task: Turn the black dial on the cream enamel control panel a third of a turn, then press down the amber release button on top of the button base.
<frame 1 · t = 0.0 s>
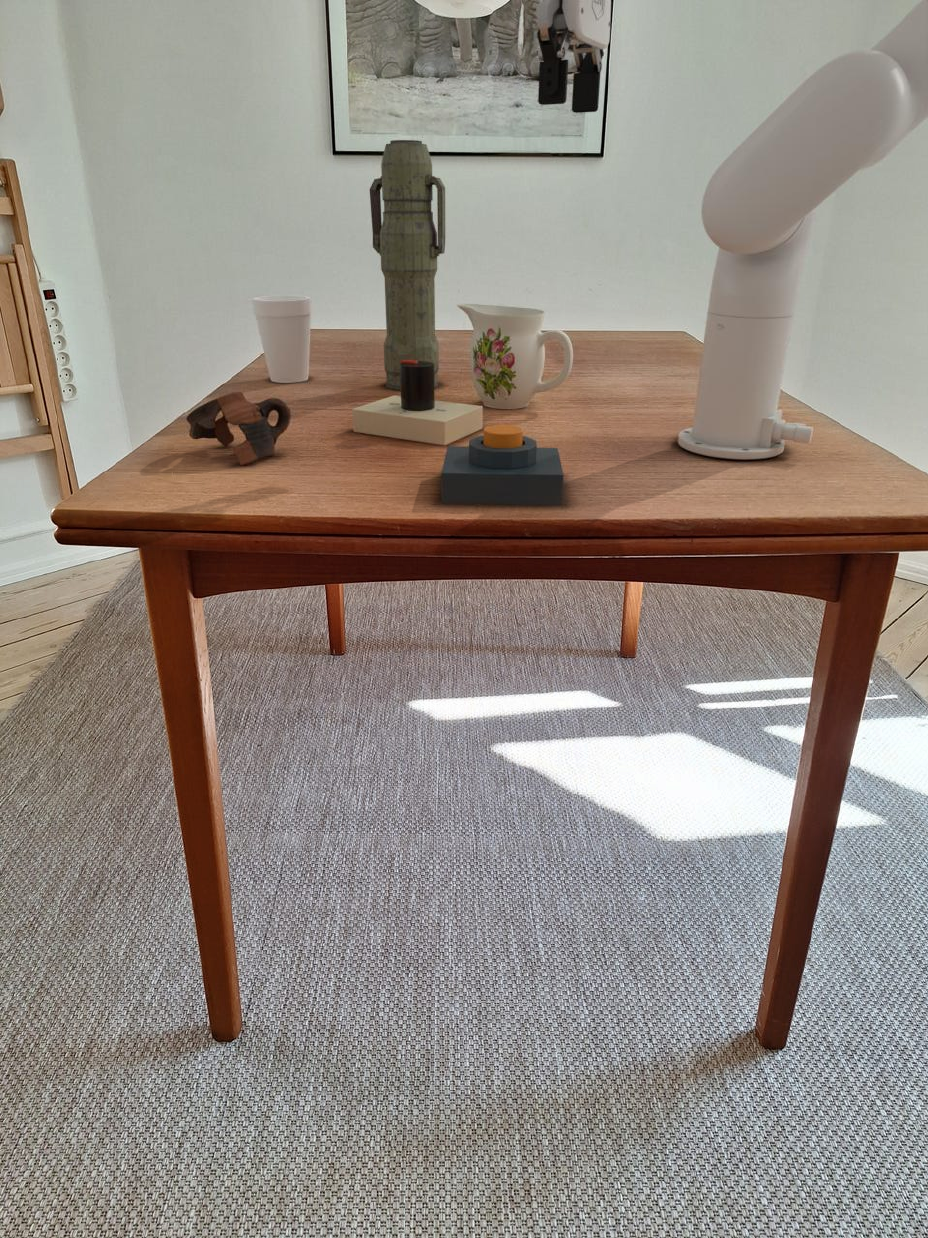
hand: (569, 107, 94), 37 cm above the table, tool pointing down, fingers open, 9 cm apart
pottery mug: (245, 455, 97), on the table
dial panel: (418, 430, 108), on the table
release button: (502, 437, 83), point 5 cm above the table, slide at 0.1 cm
button base: (501, 489, 85), on the table
foam cup: (289, 380, 139), on the table
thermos: (411, 386, 135), on the table
pitcher: (511, 406, 122), on the table
dial: (417, 384, 105), point 6 cm above the table, hinge at 0.0°
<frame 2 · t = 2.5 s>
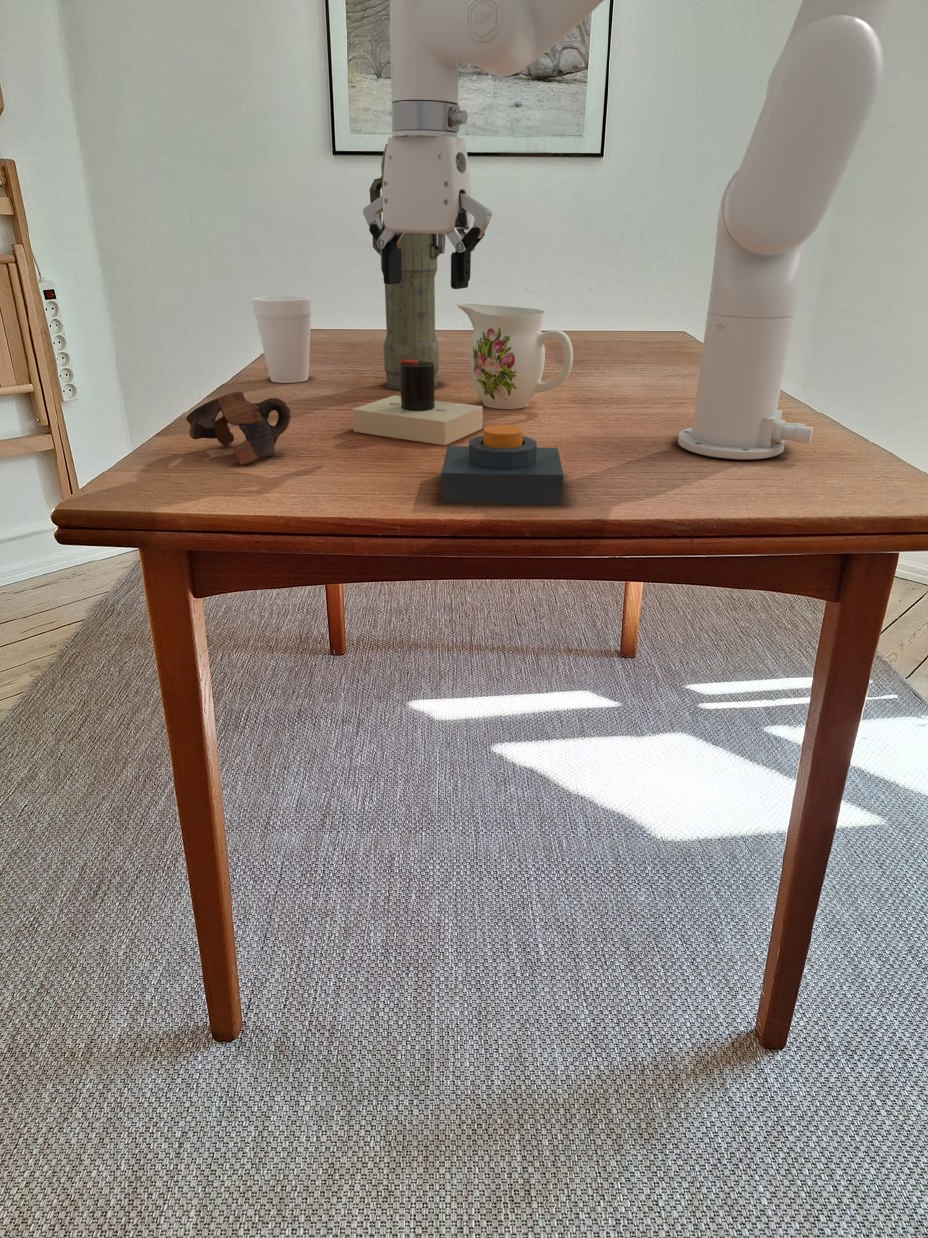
hand: (425, 285, 100), 18 cm above the table, tool pointing down, fingers open, 9 cm apart
nothing on the table moved.
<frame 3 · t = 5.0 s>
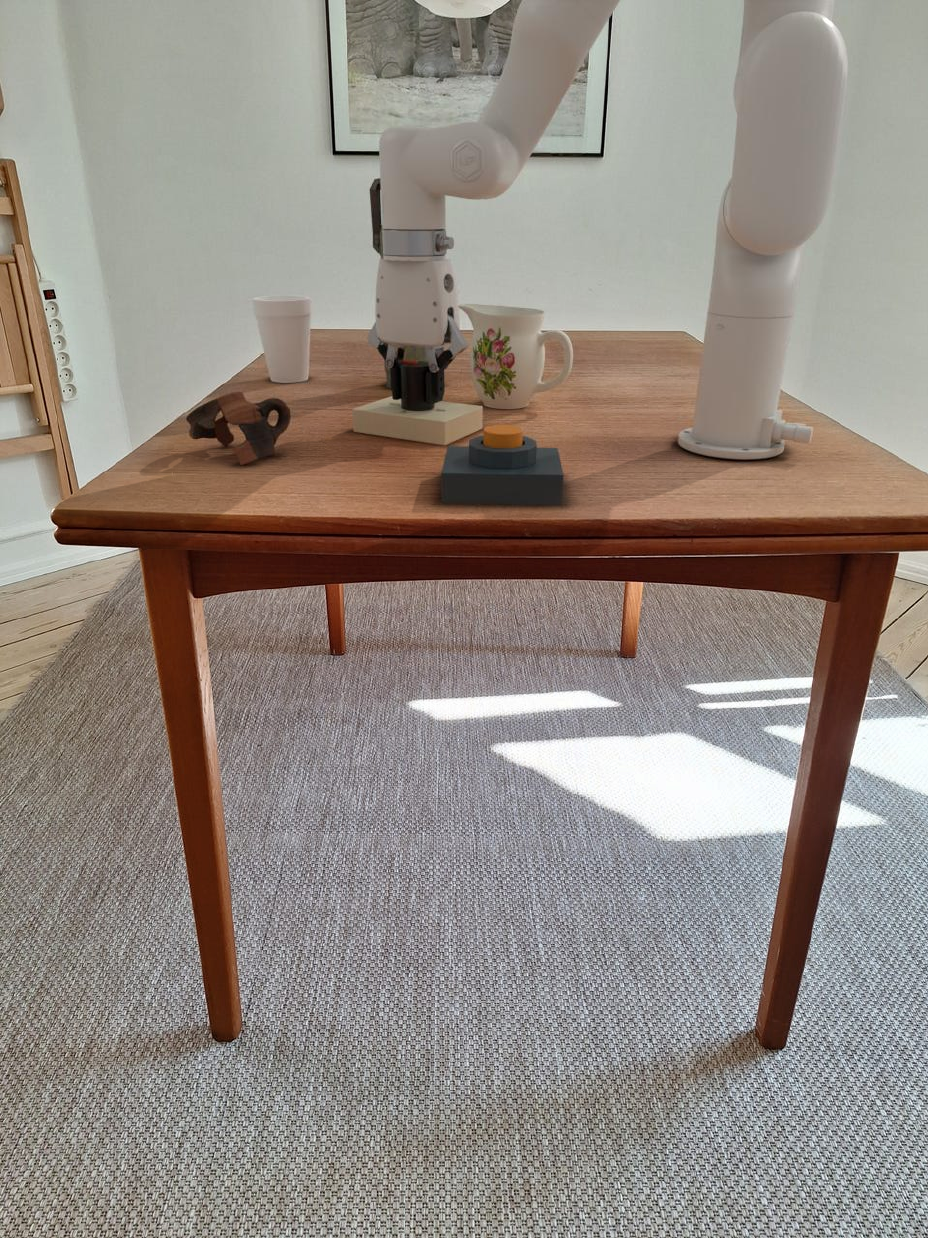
hand: (417, 398, 106), 4 cm above the table, tool pointing down, fingers closed on dial, 4 cm apart
dial: (417, 384, 105), point 6 cm above the table, hinge at -0.2°, touching gripper
everything else where it was.
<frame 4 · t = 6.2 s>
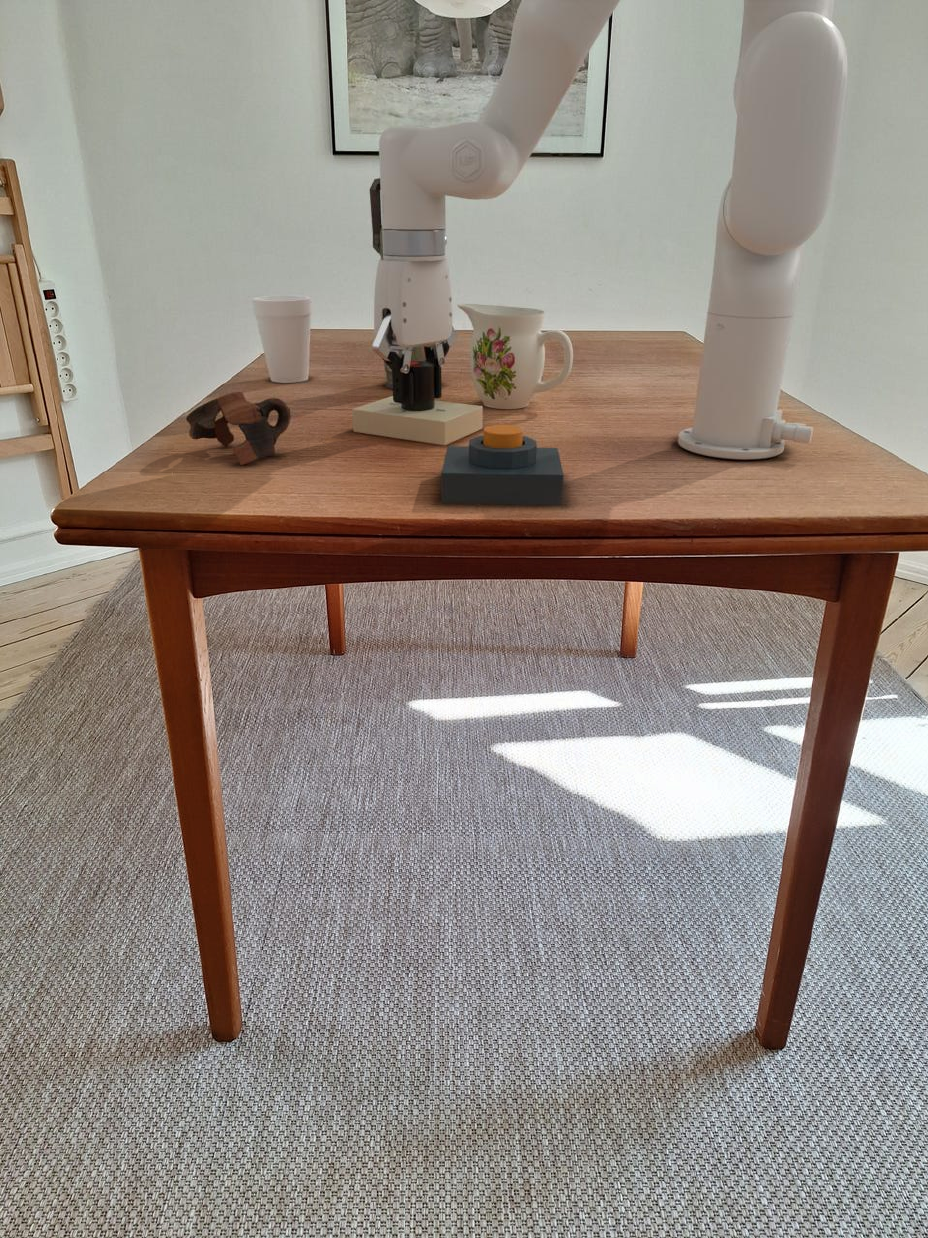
hand: (417, 398, 106), 4 cm above the table, tool pointing down, fingers closed on dial, 4 cm apart
dial: (417, 384, 105), point 6 cm above the table, hinge at 78.6°, touching gripper
everything else where it was.
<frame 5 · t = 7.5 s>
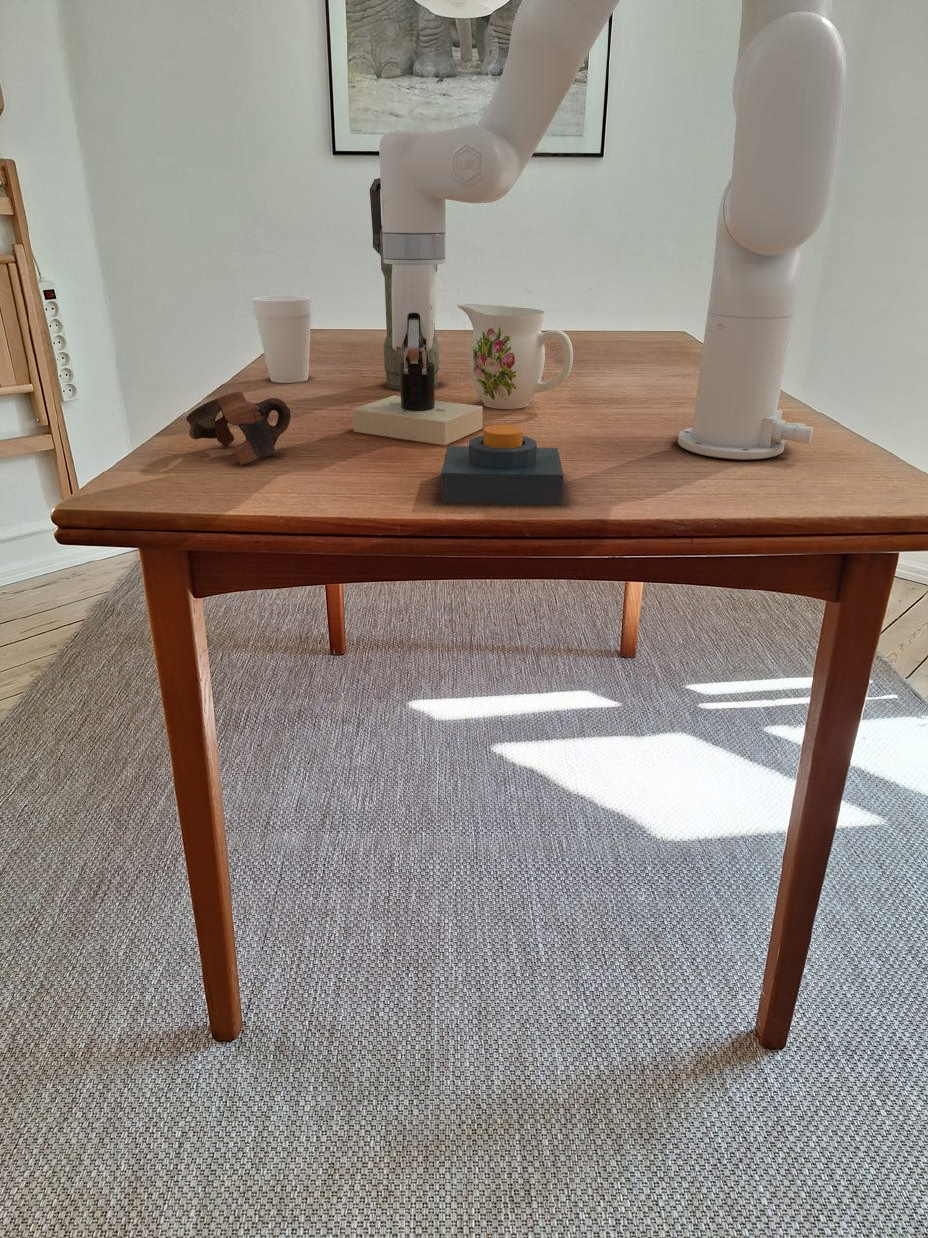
hand: (417, 398, 106), 4 cm above the table, tool pointing down, fingers open, 6 cm apart
dial: (417, 384, 105), point 6 cm above the table, hinge at 119.0°
everything else where it was.
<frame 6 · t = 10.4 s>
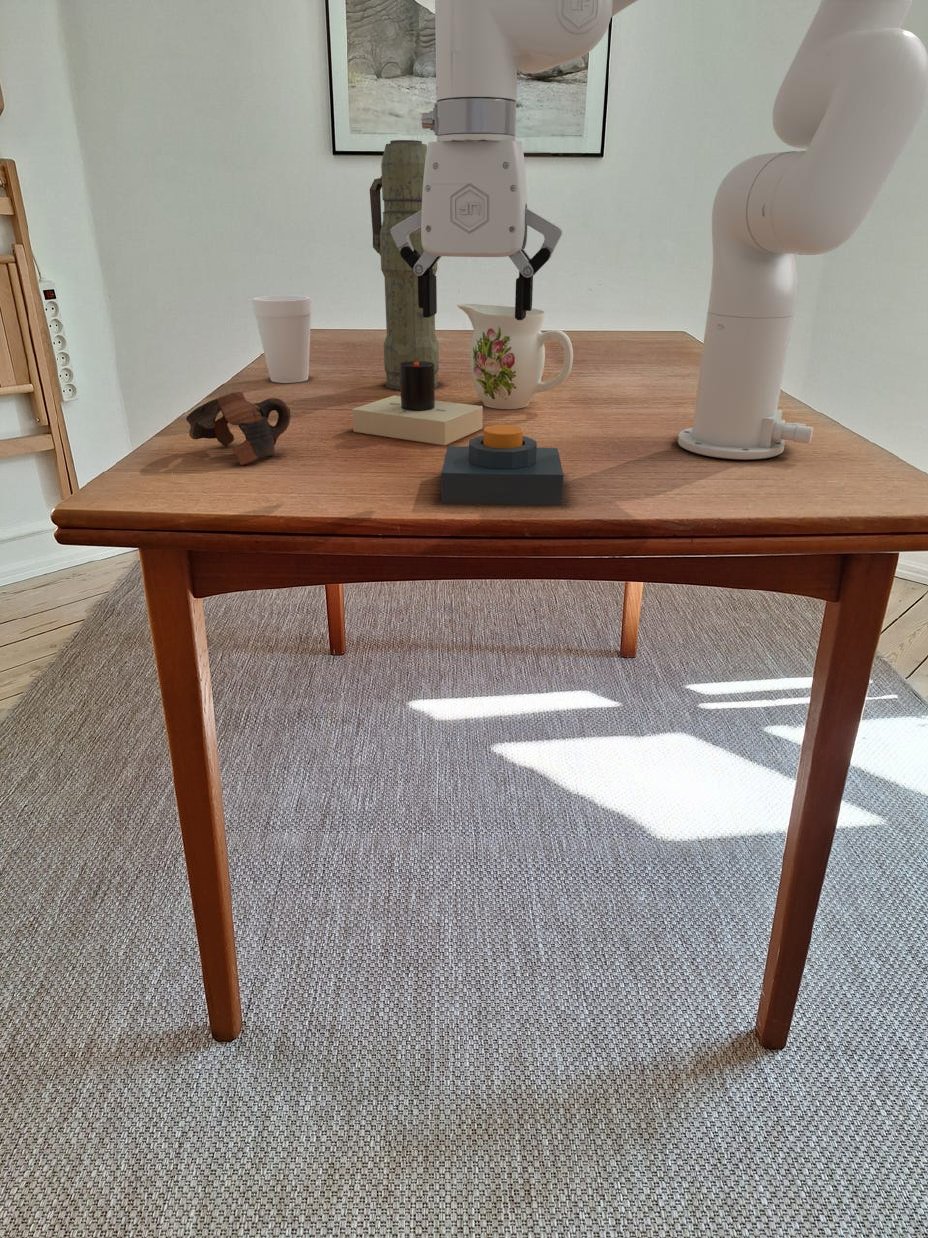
hand: (474, 317, 84), 16 cm above the table, tool pointing down, fingers open, 9 cm apart
nothing on the table moved.
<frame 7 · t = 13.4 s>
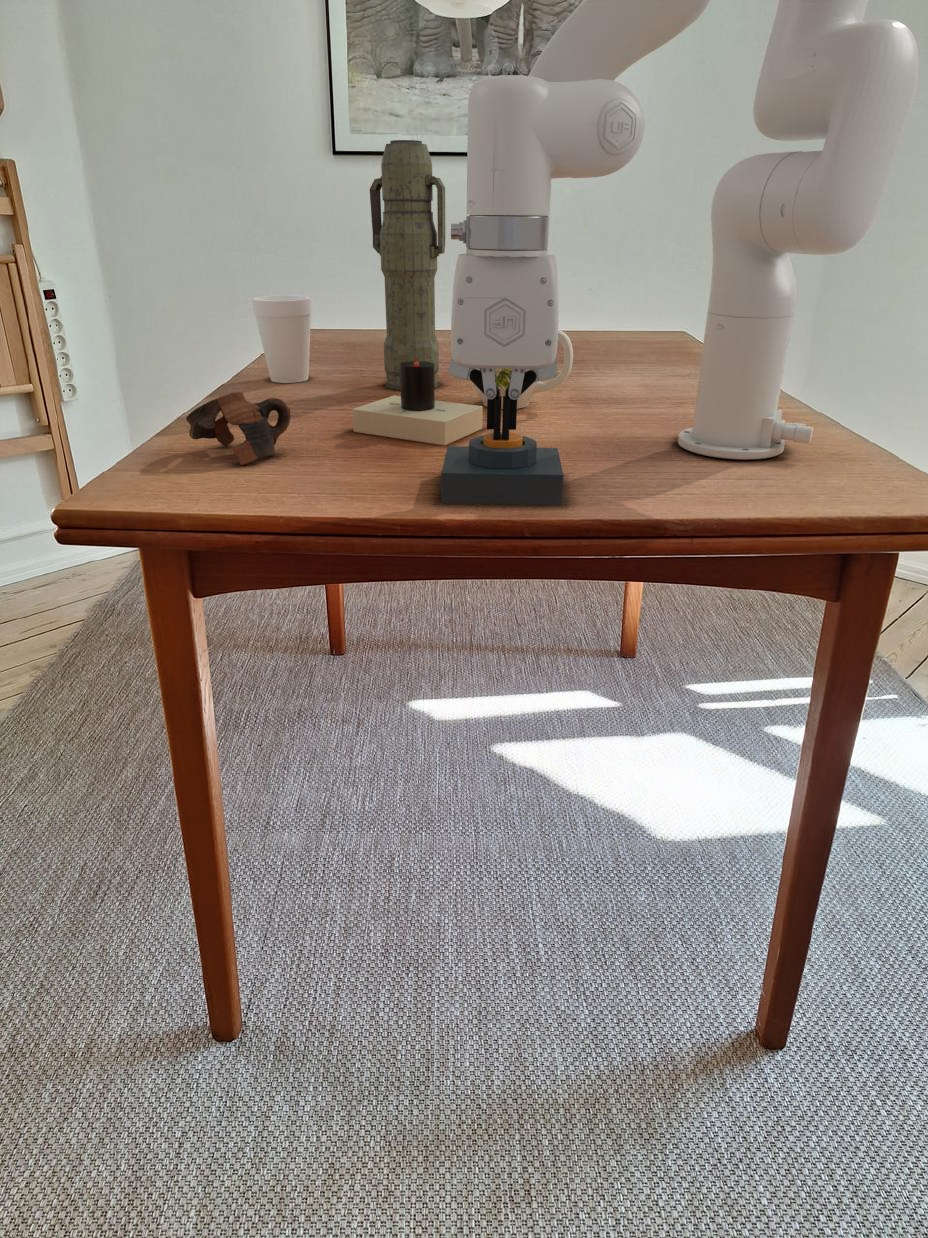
hand: (501, 436, 83), 6 cm above the table, tool pointing down, fingers closed
release button: (502, 444, 83), point 5 cm above the table, slide at -0.6 cm, touching gripper
everything else where it was.
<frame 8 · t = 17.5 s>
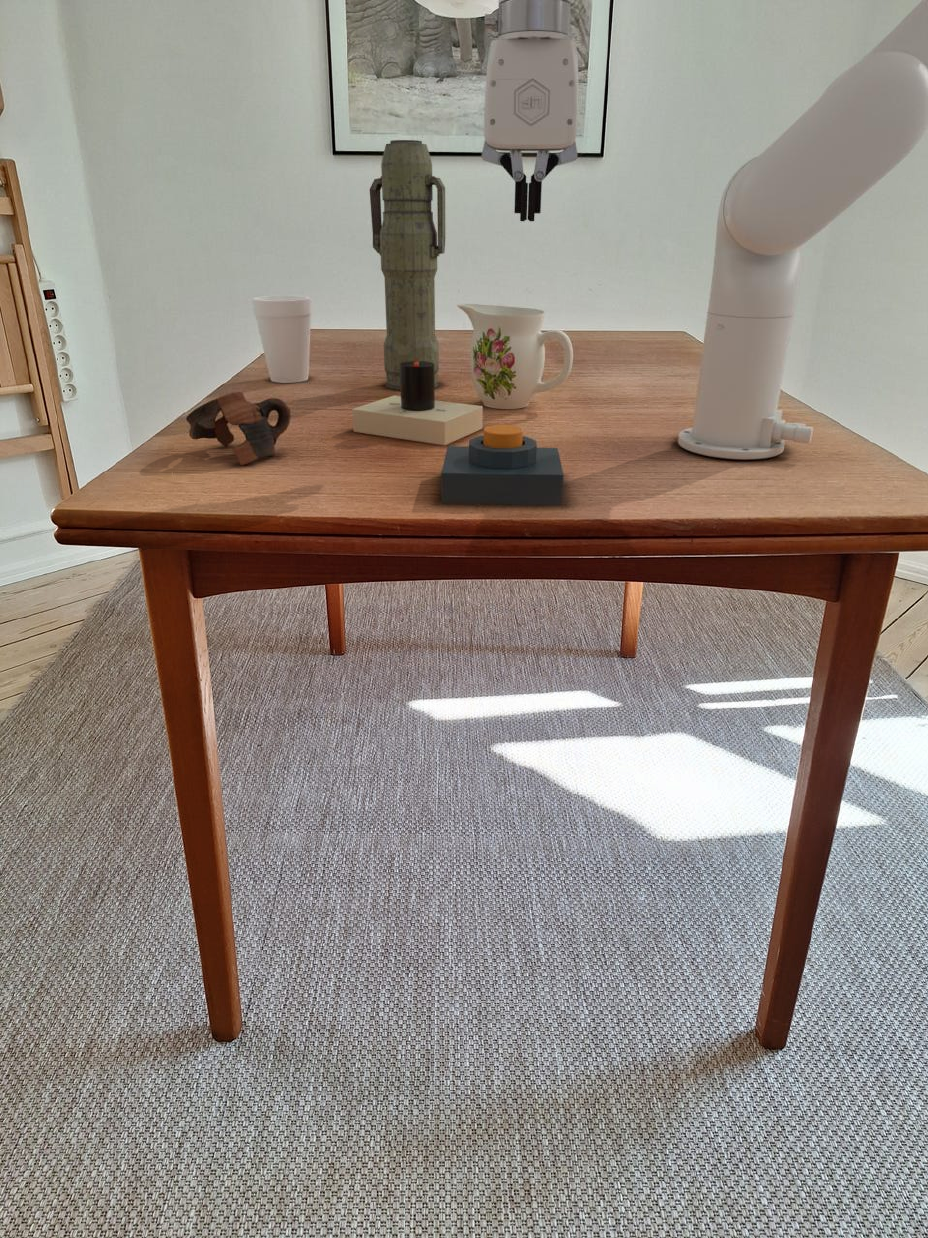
hand: (527, 220, 94), 25 cm above the table, tool pointing down, fingers closed
release button: (502, 437, 83), point 5 cm above the table, slide at 0.1 cm
everything else where it was.
at the end: dial at +119° (first picture: +0°); release button pushed in 1.1 cm at the most during the clip, back to where it started at the end; release button slide at 0.1 cm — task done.
